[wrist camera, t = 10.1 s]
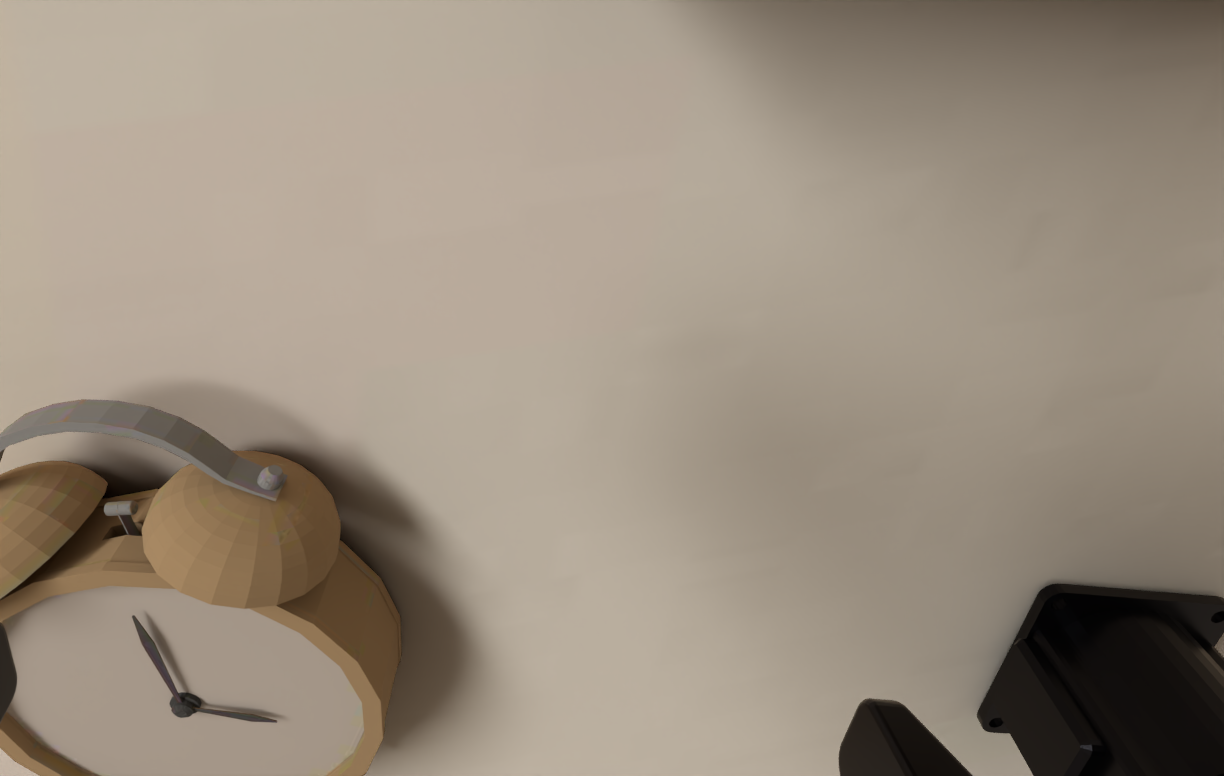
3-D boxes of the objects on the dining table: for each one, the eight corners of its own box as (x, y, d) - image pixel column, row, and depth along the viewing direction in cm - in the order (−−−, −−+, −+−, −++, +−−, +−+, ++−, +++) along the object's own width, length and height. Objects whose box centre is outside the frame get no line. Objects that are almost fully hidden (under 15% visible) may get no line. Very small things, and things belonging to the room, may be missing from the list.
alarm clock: (65, 836, 25) (-284, 520, 16) (132, 694, 29) (-118, 371, 20) (417, 815, 25) (277, 488, 16) (437, 675, 29) (333, 347, 20)
